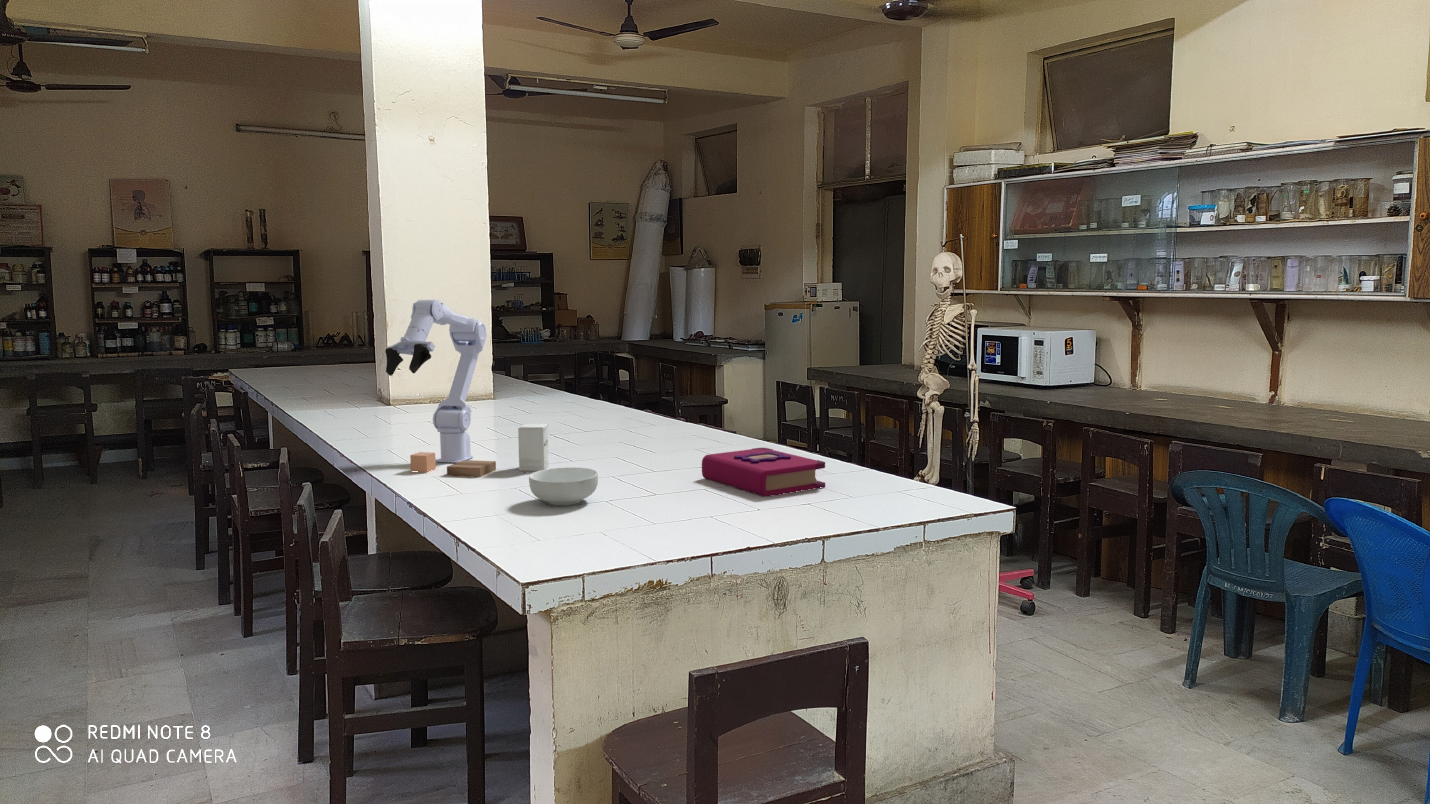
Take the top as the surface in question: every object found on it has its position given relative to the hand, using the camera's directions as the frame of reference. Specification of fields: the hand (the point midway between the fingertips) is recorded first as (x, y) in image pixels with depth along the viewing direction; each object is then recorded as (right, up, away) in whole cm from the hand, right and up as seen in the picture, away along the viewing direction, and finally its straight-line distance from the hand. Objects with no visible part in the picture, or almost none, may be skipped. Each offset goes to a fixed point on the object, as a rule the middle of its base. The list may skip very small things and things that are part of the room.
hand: (400, 372), depth 265 cm
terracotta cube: (+2, -28, +15) cm, 32 cm away
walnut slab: (+16, -29, +12) cm, 35 cm away
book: (+98, -30, -4) cm, 103 cm away
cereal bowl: (+48, -33, -25) cm, 63 cm away
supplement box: (+33, -27, +17) cm, 46 cm away
